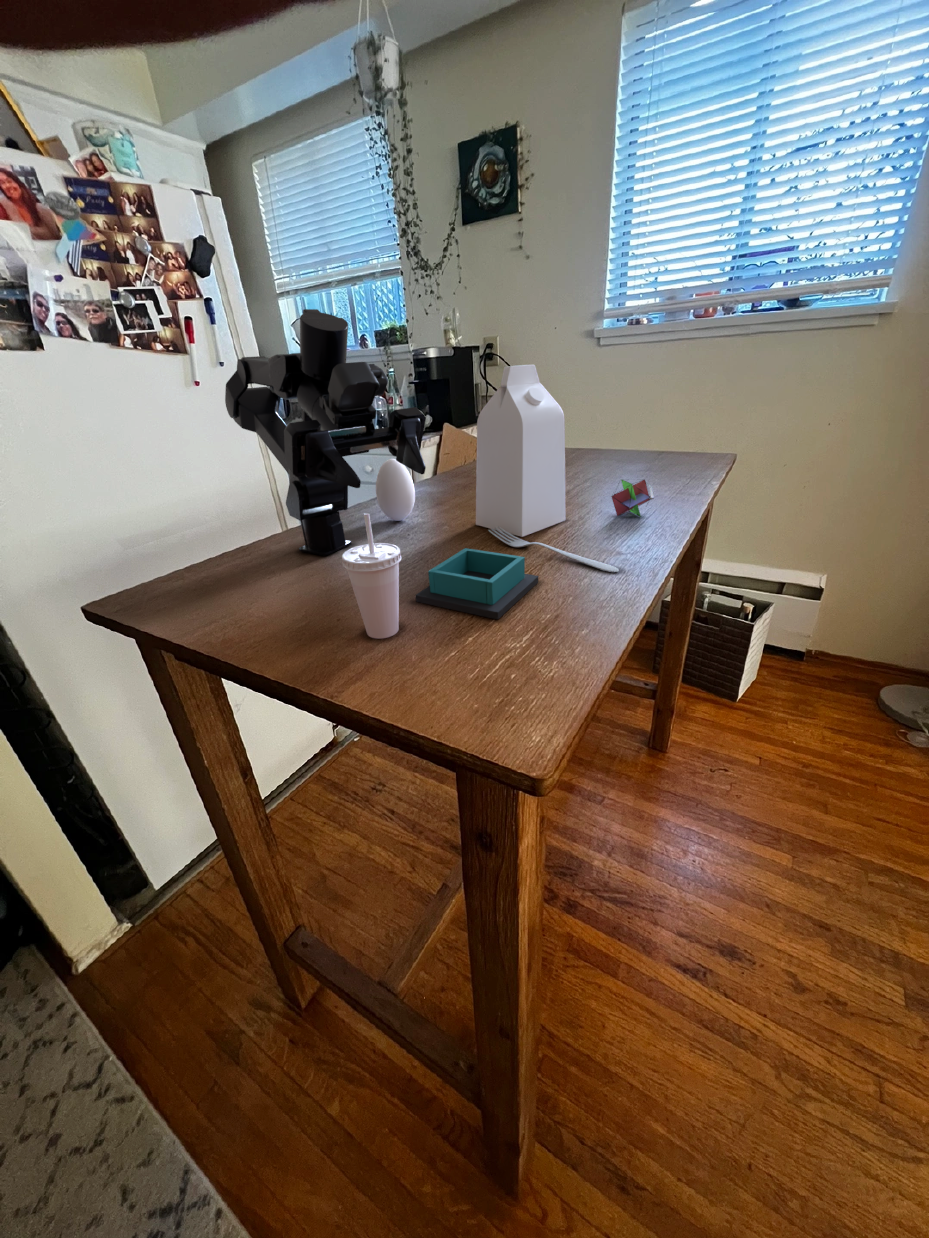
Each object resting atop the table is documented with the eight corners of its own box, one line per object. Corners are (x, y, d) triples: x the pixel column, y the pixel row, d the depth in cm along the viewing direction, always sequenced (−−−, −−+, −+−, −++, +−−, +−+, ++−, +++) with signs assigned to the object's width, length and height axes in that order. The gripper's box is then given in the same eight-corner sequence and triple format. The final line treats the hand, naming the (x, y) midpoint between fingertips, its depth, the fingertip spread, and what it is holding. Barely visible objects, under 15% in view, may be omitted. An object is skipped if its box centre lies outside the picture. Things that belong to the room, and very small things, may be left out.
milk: (519, 510, 100) (518, 364, 88) (565, 520, 92) (571, 362, 80) (475, 524, 93) (468, 368, 81) (522, 536, 86) (521, 366, 73)
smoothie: (364, 650, 55) (343, 526, 48) (348, 626, 60) (327, 511, 53) (418, 634, 57) (405, 514, 51) (398, 613, 62) (383, 501, 56)
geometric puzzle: (612, 511, 88) (641, 472, 86) (595, 502, 94) (622, 464, 92) (639, 531, 91) (668, 493, 89) (621, 521, 97) (648, 485, 95)
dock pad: (415, 601, 65) (412, 573, 63) (463, 569, 74) (461, 543, 72) (498, 620, 59) (497, 589, 57) (538, 582, 68) (538, 554, 66)
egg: (377, 527, 95) (368, 463, 90) (382, 516, 102) (374, 456, 96) (416, 524, 95) (409, 461, 90) (419, 514, 102) (412, 454, 96)
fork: (611, 575, 69) (612, 563, 68) (486, 540, 85) (486, 530, 84) (624, 568, 71) (625, 556, 70) (499, 535, 87) (499, 525, 86)
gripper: (258, 352, 57) (323, 426, 50) (399, 346, 67) (468, 406, 60) (265, 441, 65) (320, 514, 58) (389, 423, 75) (448, 484, 68)
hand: (392, 477), depth 61 cm, fingers open, 9 cm apart
